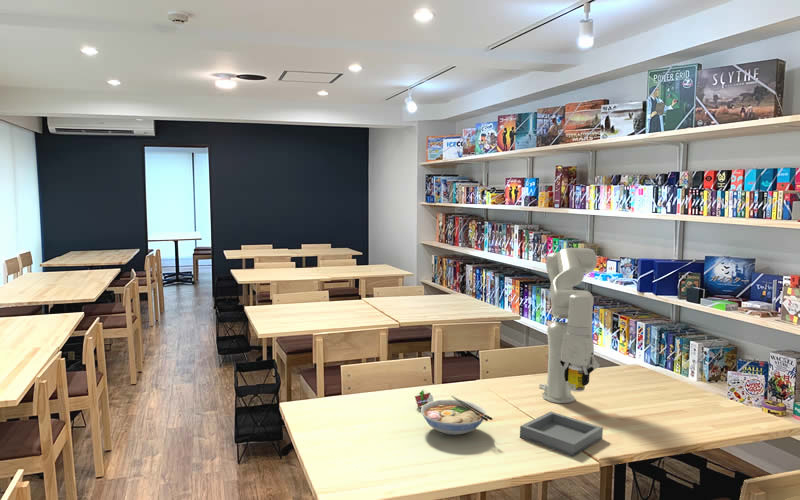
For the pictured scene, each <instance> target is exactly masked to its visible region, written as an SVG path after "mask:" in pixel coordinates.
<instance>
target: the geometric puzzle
mask: <svg viewBox="0 0 800 500" xmlns="http://www.w3.org/2000/svg"><path fill="white" fill-rule="evenodd" d="M414 399H415V403H416V405H417V408H419V407H420V408H422V406H423V405H425V404H427V403H428V402H432V401H434V397H433V395H432V393H431V392H426V390H424V389H422V390H421V391H419V393H417V394H416V395H414Z"/></svg>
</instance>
